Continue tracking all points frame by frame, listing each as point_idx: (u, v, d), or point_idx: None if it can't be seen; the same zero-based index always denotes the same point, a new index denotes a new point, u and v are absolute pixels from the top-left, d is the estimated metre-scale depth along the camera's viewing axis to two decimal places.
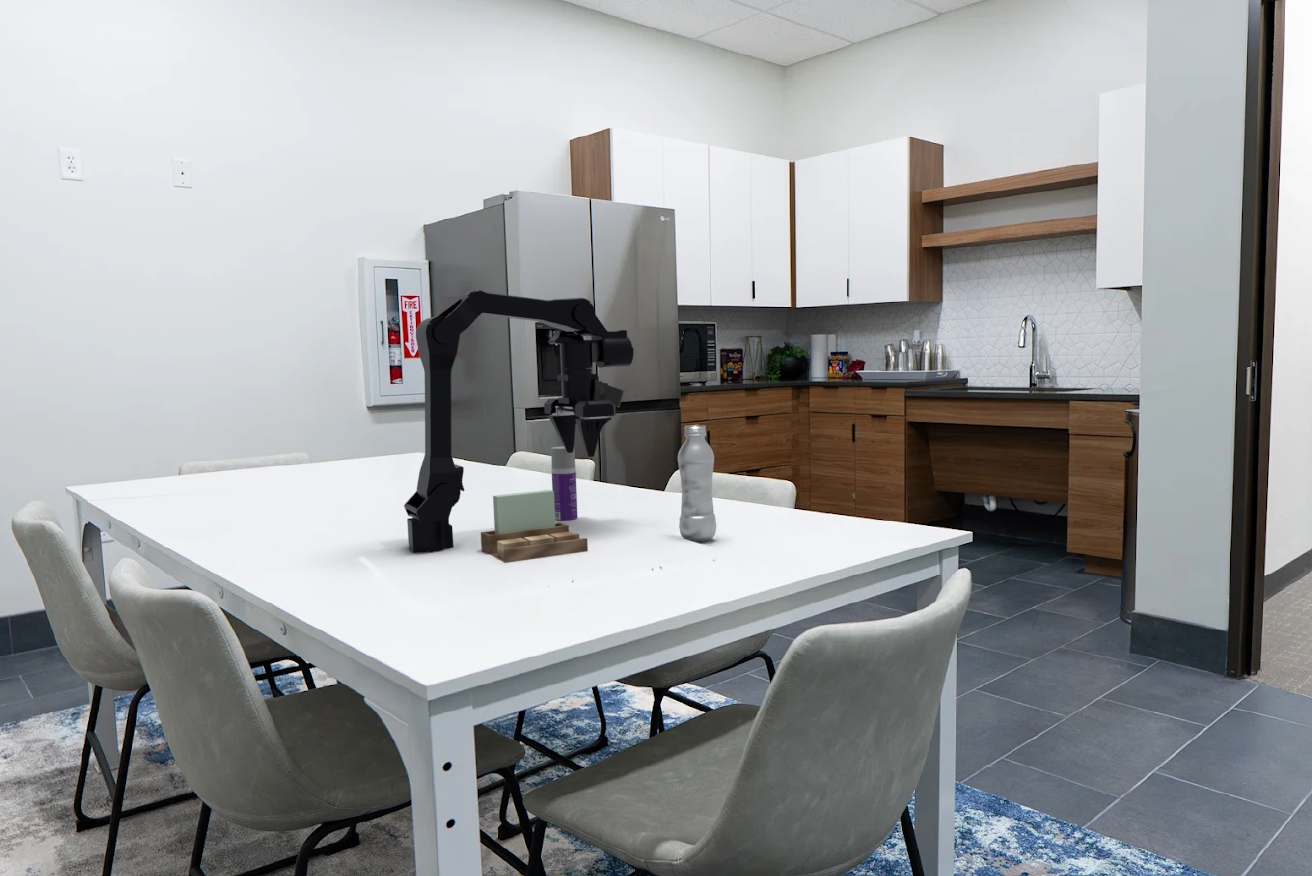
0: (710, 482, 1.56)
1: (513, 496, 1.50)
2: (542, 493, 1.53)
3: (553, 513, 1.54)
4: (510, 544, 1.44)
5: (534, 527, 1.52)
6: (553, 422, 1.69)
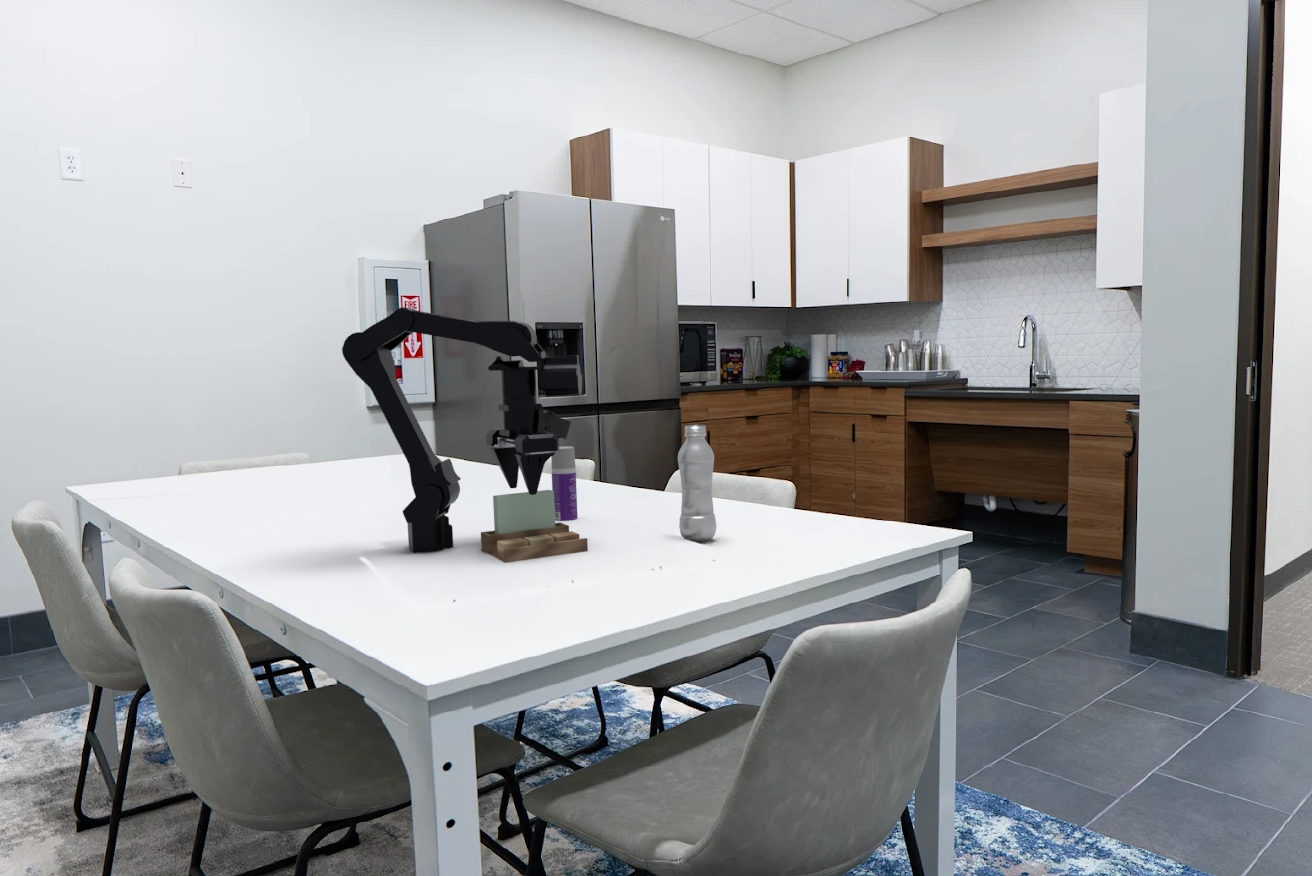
0: (710, 482, 1.56)
1: (513, 496, 1.50)
2: (542, 493, 1.53)
3: (553, 513, 1.54)
4: (510, 544, 1.44)
5: (534, 527, 1.52)
6: (495, 455, 1.55)
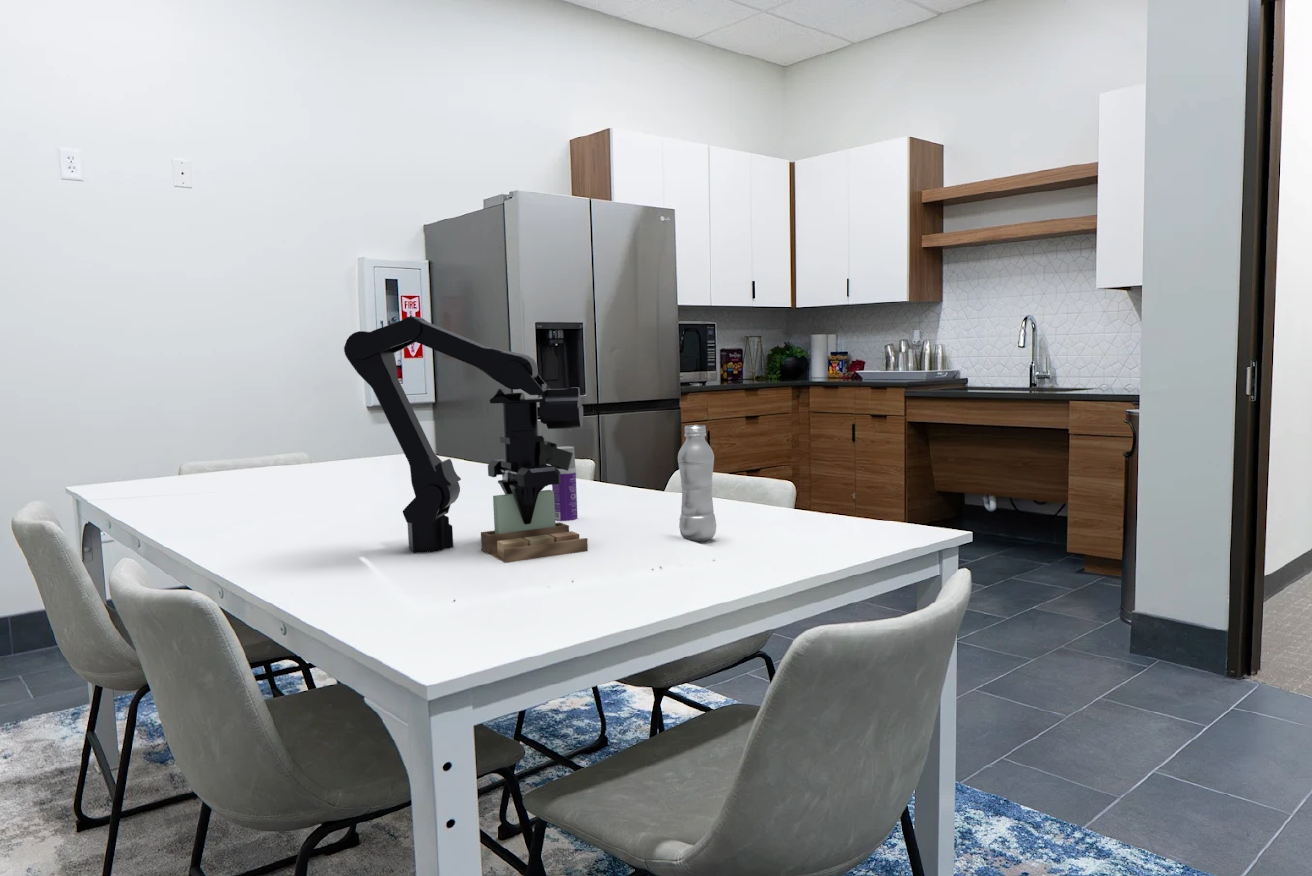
0: (710, 482, 1.56)
1: (513, 496, 1.50)
2: (542, 493, 1.53)
3: (553, 513, 1.54)
4: (510, 544, 1.44)
5: (534, 527, 1.52)
6: (503, 488, 1.53)
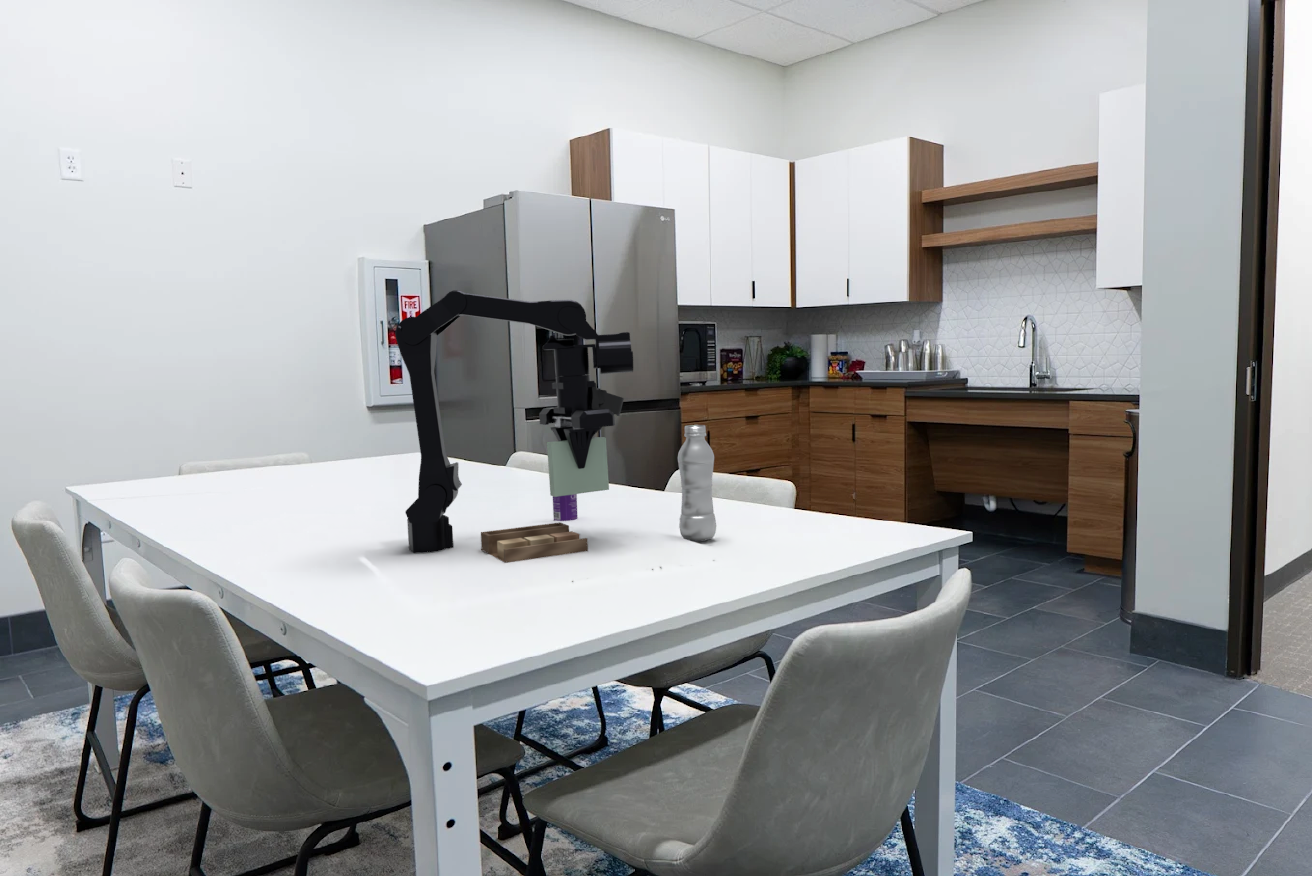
0: (710, 482, 1.56)
1: (567, 442, 1.52)
2: (595, 439, 1.55)
3: (605, 459, 1.56)
4: (510, 544, 1.44)
5: (588, 473, 1.55)
6: (556, 434, 1.55)
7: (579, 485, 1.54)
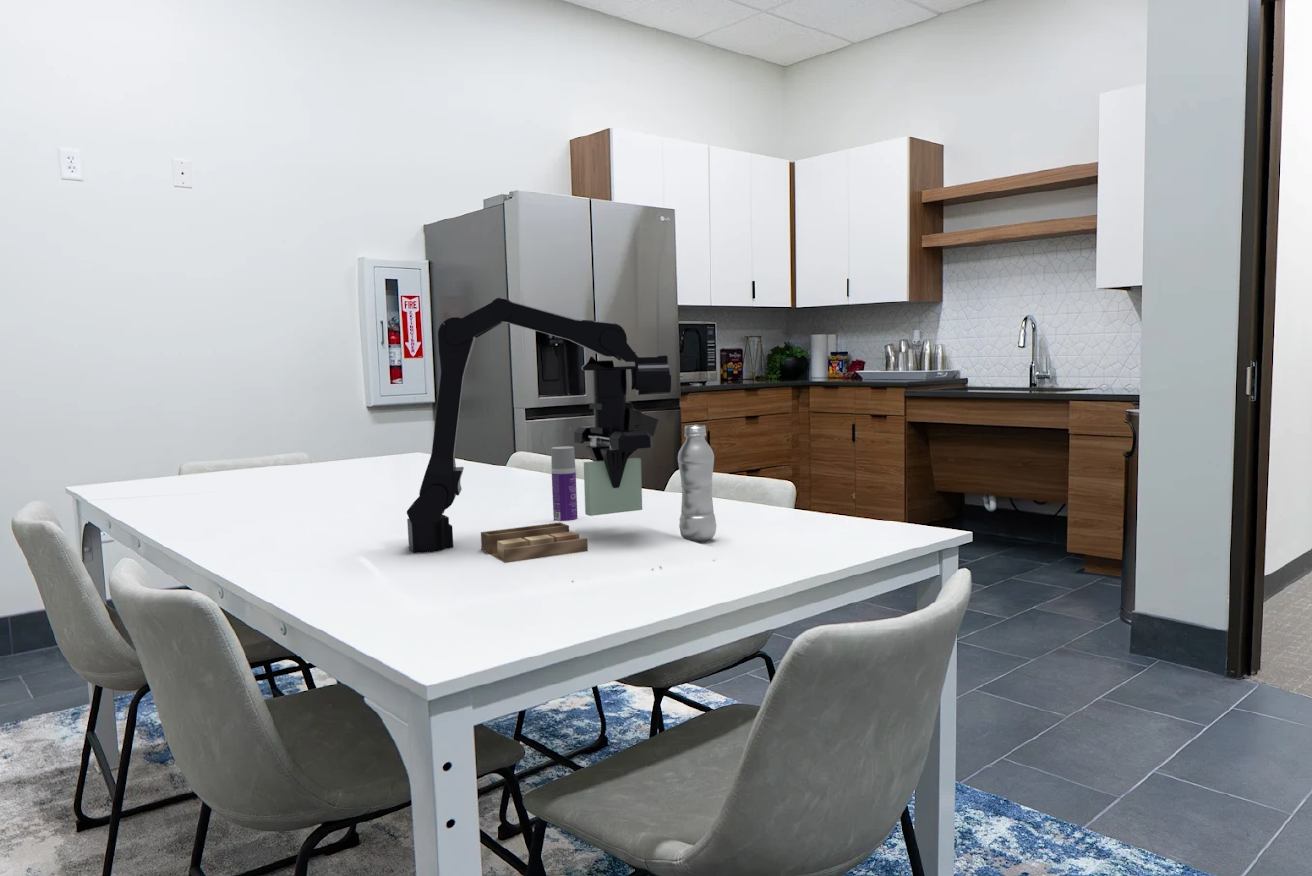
0: (710, 482, 1.56)
1: (603, 462, 1.55)
2: (630, 460, 1.58)
3: (640, 480, 1.59)
4: (510, 544, 1.44)
5: (622, 493, 1.57)
6: (592, 453, 1.58)
7: (614, 505, 1.57)
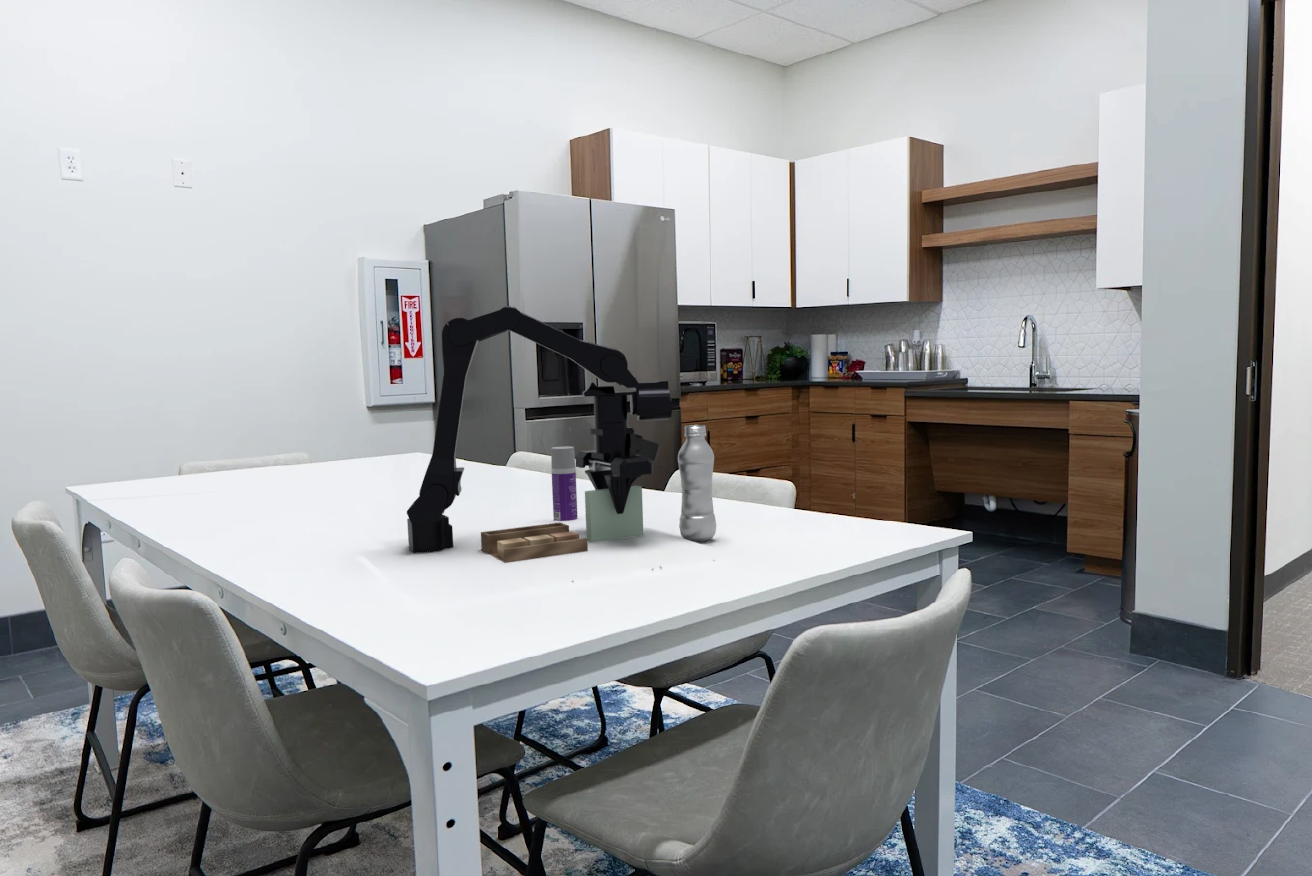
0: (710, 482, 1.56)
1: (604, 491, 1.56)
2: (631, 489, 1.58)
3: (641, 508, 1.59)
4: (510, 544, 1.44)
5: (623, 521, 1.58)
6: (591, 478, 1.59)
7: (615, 533, 1.57)
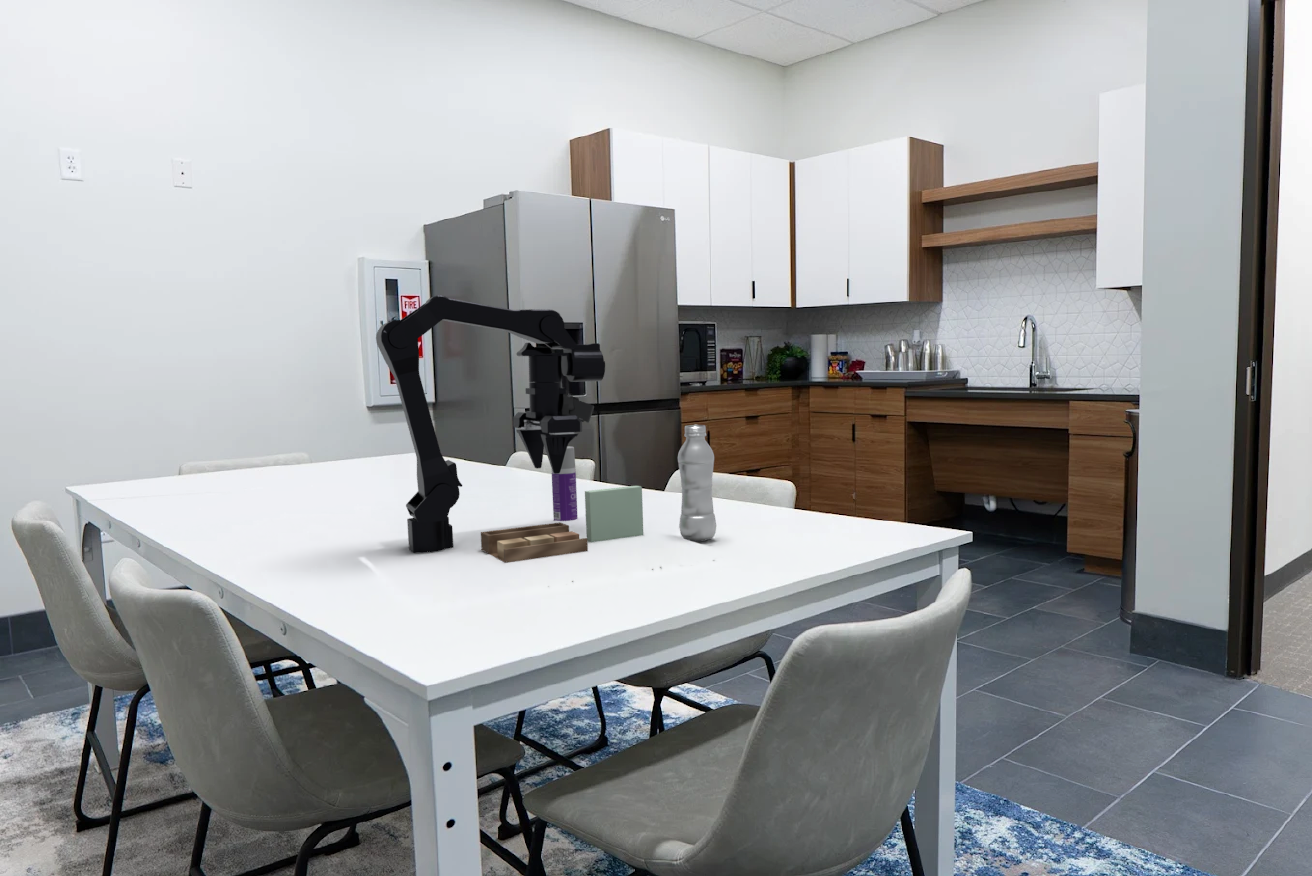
0: (710, 482, 1.56)
1: (604, 491, 1.56)
2: (631, 489, 1.58)
3: (641, 508, 1.59)
4: (510, 544, 1.44)
5: (623, 521, 1.58)
6: (521, 436, 1.65)
7: (615, 533, 1.57)
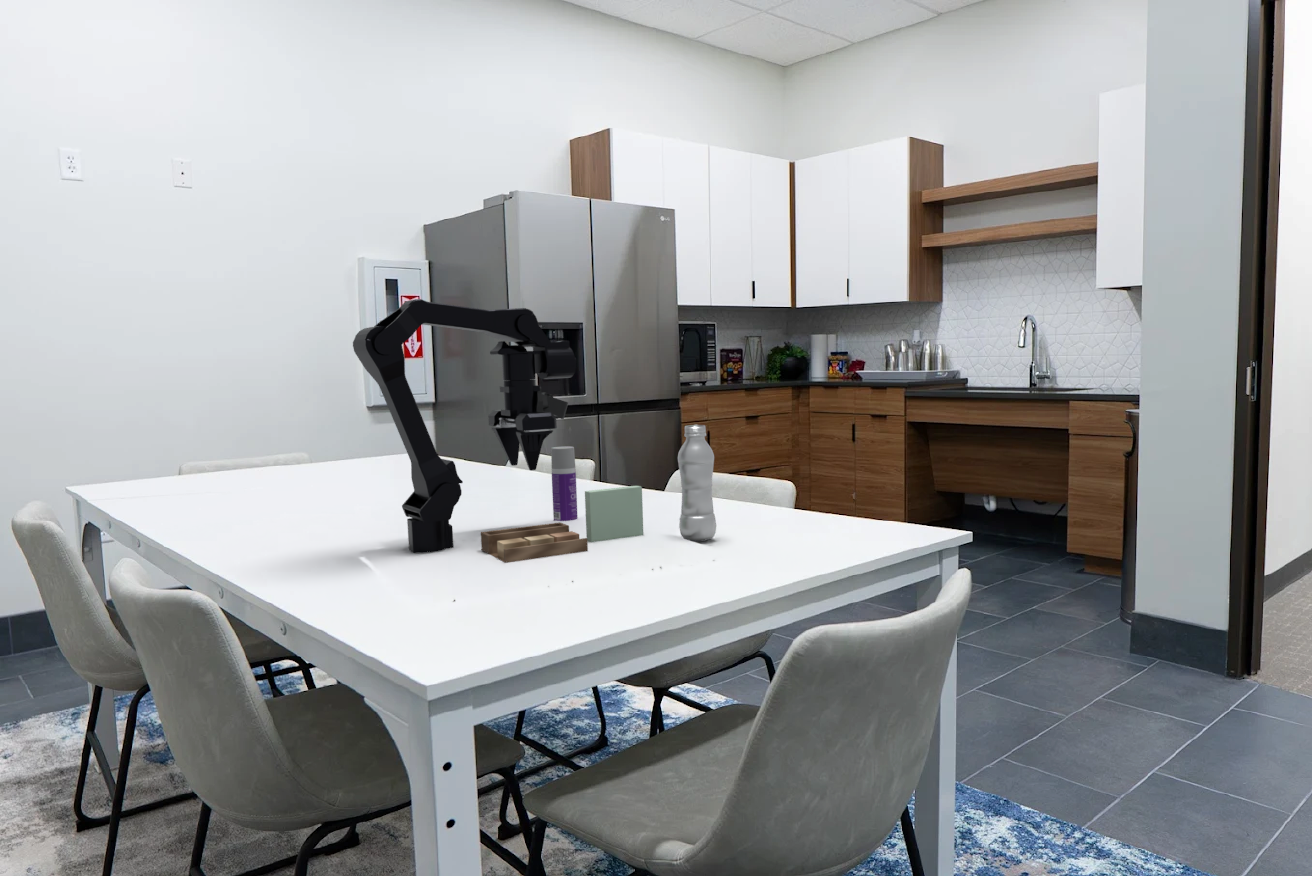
0: (710, 482, 1.56)
1: (604, 491, 1.56)
2: (631, 489, 1.58)
3: (641, 508, 1.59)
4: (510, 544, 1.44)
5: (623, 521, 1.58)
6: (497, 434, 1.66)
7: (615, 533, 1.57)
